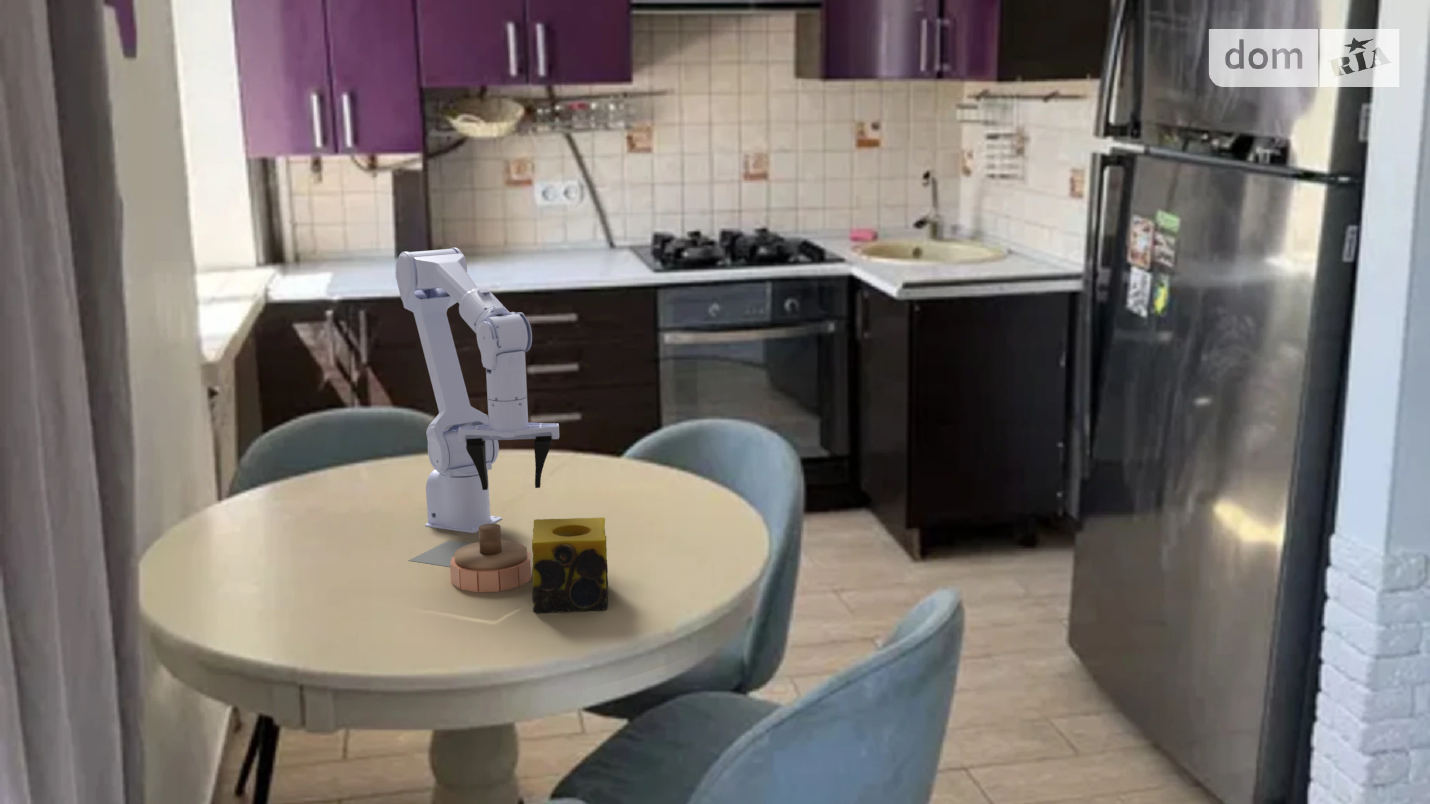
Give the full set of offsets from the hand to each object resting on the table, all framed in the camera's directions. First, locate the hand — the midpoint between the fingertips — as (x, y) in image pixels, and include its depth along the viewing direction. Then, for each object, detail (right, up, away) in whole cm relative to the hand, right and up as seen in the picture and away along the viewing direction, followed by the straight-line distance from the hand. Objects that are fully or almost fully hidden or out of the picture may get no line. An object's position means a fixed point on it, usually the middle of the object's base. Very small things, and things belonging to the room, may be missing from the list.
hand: (511, 487), depth 202 cm
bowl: (-1, -12, -10) cm, 16 cm away
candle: (+11, -14, -18) cm, 25 cm away
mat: (-8, -10, 0) cm, 13 cm away
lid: (-1, -9, -11) cm, 14 cm away
